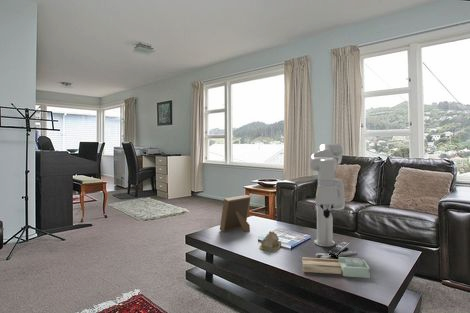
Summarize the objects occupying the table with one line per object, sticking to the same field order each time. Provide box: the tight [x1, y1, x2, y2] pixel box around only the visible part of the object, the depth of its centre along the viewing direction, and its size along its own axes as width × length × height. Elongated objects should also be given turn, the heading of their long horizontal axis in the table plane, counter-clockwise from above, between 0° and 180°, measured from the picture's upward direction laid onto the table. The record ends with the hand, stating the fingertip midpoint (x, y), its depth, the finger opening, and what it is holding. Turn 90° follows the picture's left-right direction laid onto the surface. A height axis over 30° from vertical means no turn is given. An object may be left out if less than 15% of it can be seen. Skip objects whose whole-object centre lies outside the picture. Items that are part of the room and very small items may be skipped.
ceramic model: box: [259, 231, 282, 252], centre depth 170 cm, size 14×11×10 cm
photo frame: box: [219, 194, 252, 233], centre depth 204 cm, size 15×22×25 cm
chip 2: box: [353, 259, 363, 267], centre depth 137 cm, size 4×4×3 cm
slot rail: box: [301, 256, 342, 275], centre depth 140 cm, size 8×18×4 cm, turn 80°
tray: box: [337, 256, 371, 279], centre depth 138 cm, size 12×12×4 cm
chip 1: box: [344, 259, 355, 267], centre depth 137 cm, size 4×4×3 cm
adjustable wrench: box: [315, 250, 357, 259], centre depth 157 cm, size 25×6×2 cm, turn 100°
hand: (326, 217), depth 146 cm, fingers closed
